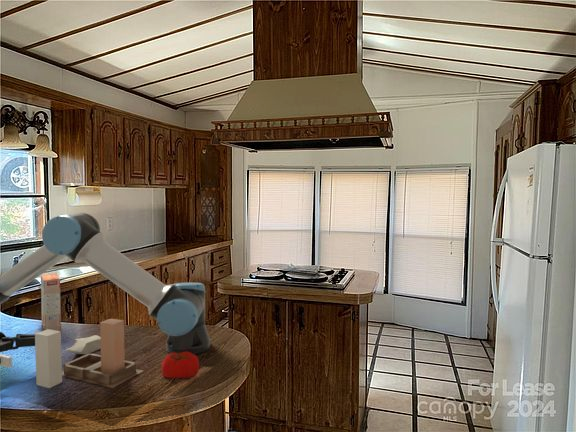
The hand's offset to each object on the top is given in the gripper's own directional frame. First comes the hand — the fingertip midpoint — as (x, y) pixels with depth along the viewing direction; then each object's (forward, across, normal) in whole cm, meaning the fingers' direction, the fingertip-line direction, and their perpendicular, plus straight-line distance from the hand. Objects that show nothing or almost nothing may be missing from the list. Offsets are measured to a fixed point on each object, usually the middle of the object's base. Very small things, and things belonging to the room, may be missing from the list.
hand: (34, 353), depth 118 cm
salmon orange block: (+17, -11, -8) cm, 22 cm away
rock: (-8, -26, -10) cm, 29 cm away
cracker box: (-41, -37, -10) cm, 56 cm away
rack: (+12, -11, -9) cm, 19 cm away
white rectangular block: (+5, 0, -9) cm, 11 cm away
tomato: (+34, -22, -10) cm, 41 cm away
